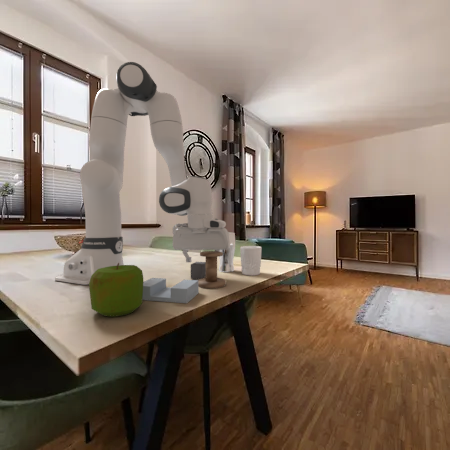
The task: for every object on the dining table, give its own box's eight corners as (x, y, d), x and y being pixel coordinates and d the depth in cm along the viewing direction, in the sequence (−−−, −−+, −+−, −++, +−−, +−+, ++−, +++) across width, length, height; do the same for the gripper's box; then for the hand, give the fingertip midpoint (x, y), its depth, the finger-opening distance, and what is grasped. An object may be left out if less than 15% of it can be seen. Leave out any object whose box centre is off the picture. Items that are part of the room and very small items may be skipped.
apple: (133, 300, 66) (132, 257, 66) (152, 312, 58) (152, 262, 57) (84, 310, 58) (83, 262, 58) (98, 325, 50) (97, 269, 50)
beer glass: (224, 268, 108) (224, 232, 107) (238, 270, 104) (238, 232, 103) (213, 271, 102) (213, 232, 102) (228, 273, 98) (228, 233, 98)
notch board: (135, 299, 67) (134, 285, 66) (152, 289, 75) (152, 277, 75) (186, 303, 64) (186, 288, 63) (198, 292, 72) (198, 280, 72)
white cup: (260, 276, 93) (260, 248, 93) (238, 275, 95) (238, 247, 94) (262, 271, 101) (262, 246, 101) (241, 271, 102) (241, 245, 102)
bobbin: (192, 287, 78) (192, 254, 78) (201, 280, 87) (201, 250, 86) (222, 289, 76) (222, 255, 76) (228, 281, 85) (228, 251, 85)
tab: (190, 279, 89) (190, 264, 89) (196, 275, 95) (196, 261, 95) (201, 279, 88) (201, 265, 88) (206, 275, 94) (206, 262, 94)
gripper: (168, 224, 91) (170, 263, 91) (226, 222, 86) (227, 264, 87) (175, 223, 97) (177, 260, 97) (230, 222, 93) (231, 260, 93)
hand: (201, 262), depth 92 cm, fingers open, 8 cm apart
